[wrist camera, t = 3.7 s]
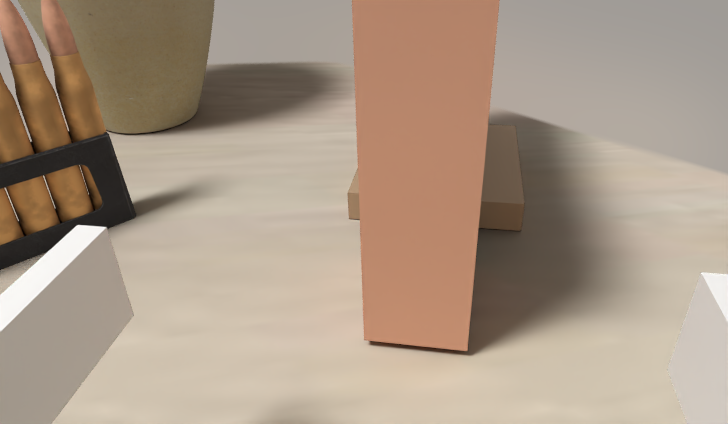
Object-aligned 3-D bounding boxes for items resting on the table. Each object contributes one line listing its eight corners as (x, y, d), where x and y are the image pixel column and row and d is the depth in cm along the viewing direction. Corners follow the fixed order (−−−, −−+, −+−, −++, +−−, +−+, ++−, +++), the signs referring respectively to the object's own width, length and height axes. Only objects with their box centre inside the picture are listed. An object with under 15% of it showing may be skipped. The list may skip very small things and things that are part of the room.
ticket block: (524, 265, 27) (573, -69, 20) (336, 250, 28) (317, -67, 21) (512, 141, 39) (540, -97, 31) (380, 135, 40) (377, -94, 33)
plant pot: (178, 169, 37) (115, -120, 28) (-1, 143, 41) (-102, -115, 32) (280, 91, 49) (256, -128, 40) (133, 77, 53) (85, -123, 44)
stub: (467, 351, 22) (503, -48, 15) (364, 340, 23) (350, -47, 15) (470, 259, 27) (498, -72, 20) (386, 252, 28) (383, -71, 20)
